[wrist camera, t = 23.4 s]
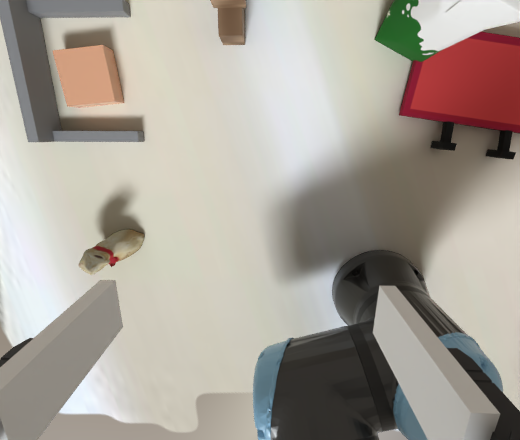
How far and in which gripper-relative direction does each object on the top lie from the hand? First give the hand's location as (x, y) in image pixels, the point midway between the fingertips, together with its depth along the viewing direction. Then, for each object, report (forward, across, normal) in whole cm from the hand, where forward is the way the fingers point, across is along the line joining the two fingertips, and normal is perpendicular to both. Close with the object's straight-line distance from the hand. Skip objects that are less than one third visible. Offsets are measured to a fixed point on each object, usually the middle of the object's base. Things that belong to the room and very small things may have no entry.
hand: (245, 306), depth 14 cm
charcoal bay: (+33, +25, -16) cm, 44 cm away
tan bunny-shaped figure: (+33, +24, +10) cm, 42 cm away
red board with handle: (+33, -35, -12) cm, 50 cm away
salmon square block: (+33, +24, -16) cm, 44 cm away
